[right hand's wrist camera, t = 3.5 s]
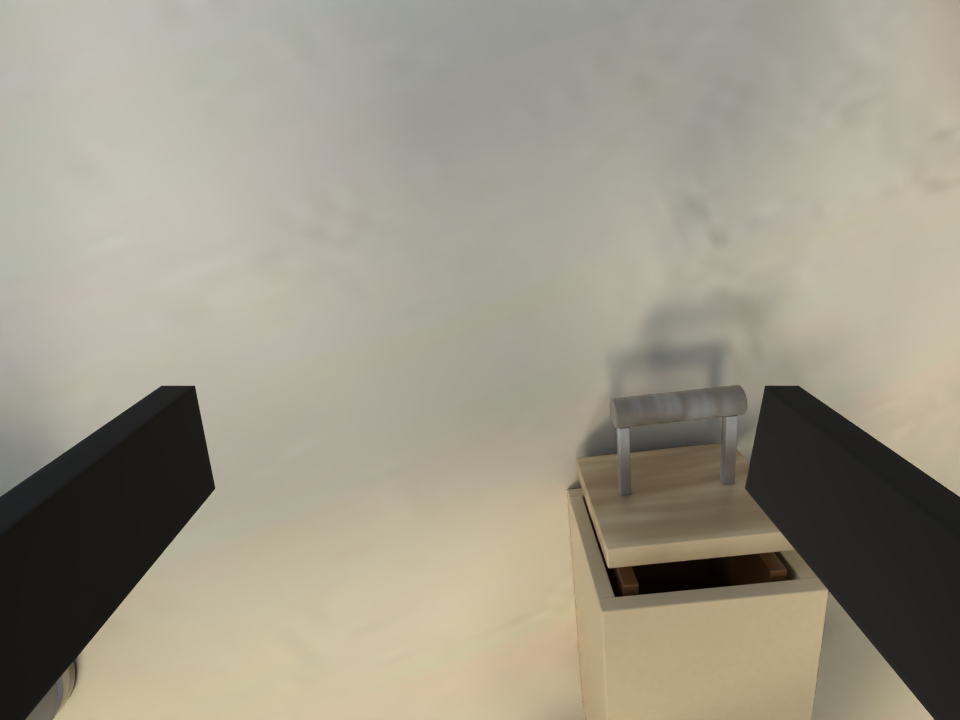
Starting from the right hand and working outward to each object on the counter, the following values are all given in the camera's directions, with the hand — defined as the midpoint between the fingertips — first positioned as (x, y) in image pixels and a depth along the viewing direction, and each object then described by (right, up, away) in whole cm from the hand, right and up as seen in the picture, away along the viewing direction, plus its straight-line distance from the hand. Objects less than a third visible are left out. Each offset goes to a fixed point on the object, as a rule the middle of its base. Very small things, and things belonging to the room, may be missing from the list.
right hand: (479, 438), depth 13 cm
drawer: (+12, -10, +24) cm, 28 cm away
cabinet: (+12, -16, +27) cm, 33 cm away
